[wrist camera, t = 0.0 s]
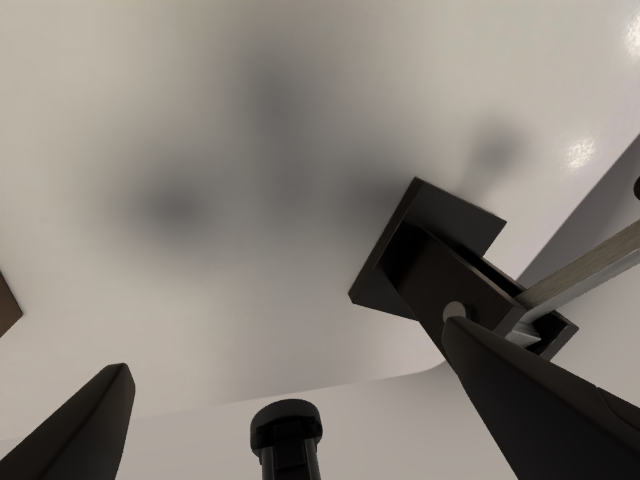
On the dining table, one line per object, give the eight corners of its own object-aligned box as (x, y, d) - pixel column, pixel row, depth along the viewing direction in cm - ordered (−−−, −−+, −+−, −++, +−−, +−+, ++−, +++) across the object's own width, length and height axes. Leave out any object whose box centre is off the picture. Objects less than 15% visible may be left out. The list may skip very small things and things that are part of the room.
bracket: (414, 176, 20) (534, 240, 12) (496, 215, 23) (640, 290, 15) (347, 294, 24) (402, 411, 15) (426, 316, 27) (510, 425, 18)
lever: (656, 147, 11) (724, 187, 9) (717, 198, 12) (784, 240, 11) (434, 310, 17) (448, 350, 16) (494, 328, 19) (513, 366, 17)
